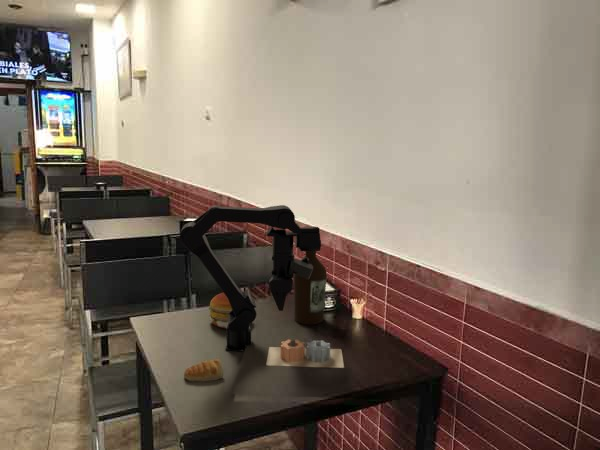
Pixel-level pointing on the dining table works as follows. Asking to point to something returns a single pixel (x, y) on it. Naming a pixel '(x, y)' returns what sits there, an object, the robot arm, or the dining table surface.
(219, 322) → the burger
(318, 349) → the gear
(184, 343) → the dining table surface
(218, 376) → the pastry
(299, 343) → the gear
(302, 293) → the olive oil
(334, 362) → the gear board
